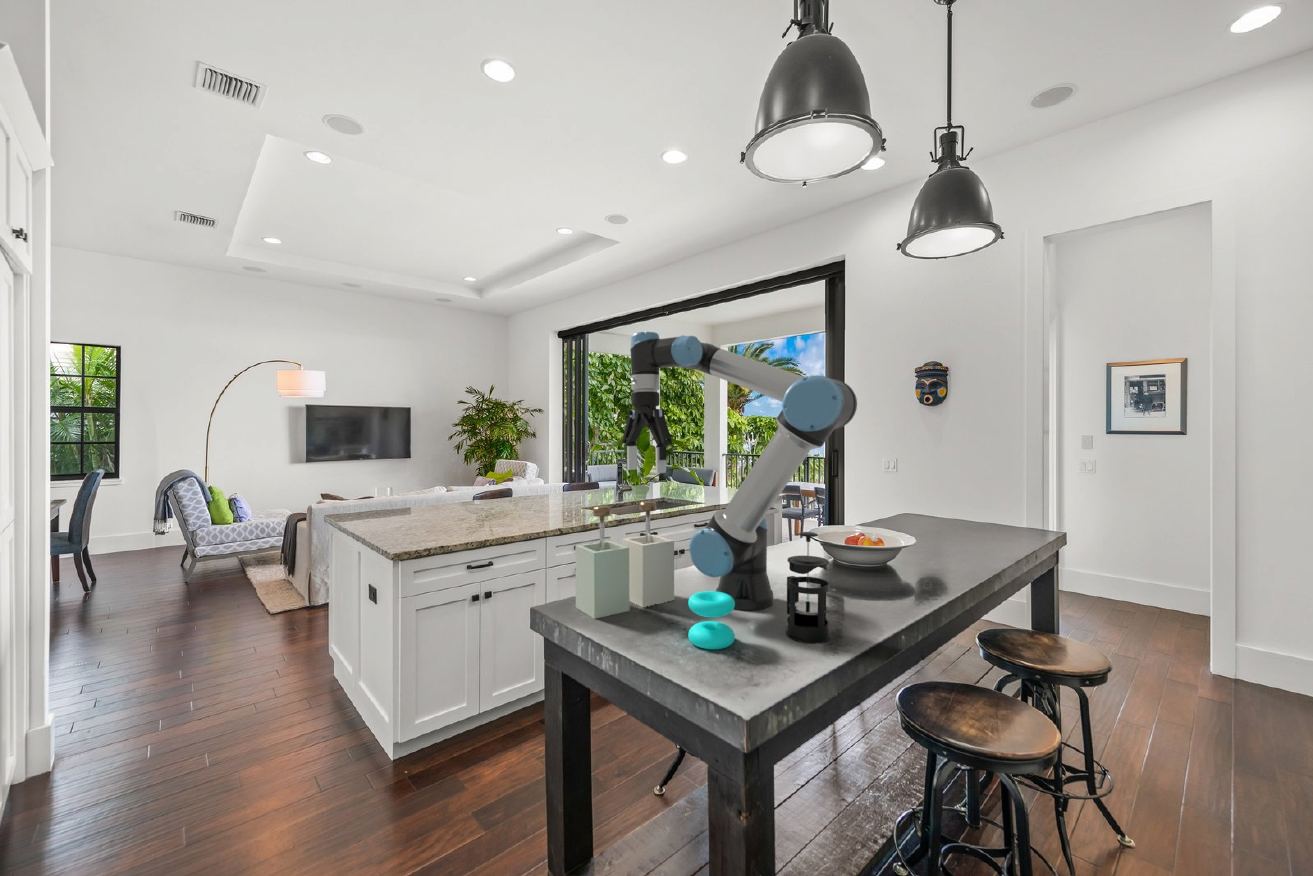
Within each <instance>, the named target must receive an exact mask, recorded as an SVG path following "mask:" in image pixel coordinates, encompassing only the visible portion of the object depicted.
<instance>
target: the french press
mask: <svg viewBox="0 0 1313 876" xmlns="http://www.w3.org/2000/svg"><path fill="white" fill-rule="evenodd" d="M798 535H799V536H800V537H805V542H806V543H807V545H806V546H807V547H806V549H807V550H806V551H807V554H806V555H793V556H789V557H787V559H786V560H787V563H789V568H788V569H789V570H790V571H791V572H792V573H793V572H794V573H796V574H801V575H806V576H795V575H791V576H787V577H786V614H787V615H788V617H787V618H786V619H787V620H786V622H787V623H786V627H787V628H786V630H785V634H786V636H787V637H788V638H789V639H790V640H792V641H795V642H798V643H801V642H802V643H803V644H813V645H815V643H819V644H823V643H822V642H824V643H826V642H828V641H830V638H831V635H830V631H829V630H830V623H829V620H828V619H827V613H828V610H829V609H828V607H827V593H828V592H830V583H829V581H827V580H825V579H823V578H819V577H814V576H810V572H812V571H813V570H815V569H816V568H821V569H823V570H825V571H828V566H829V564H830V560H829V559H827V558H824V557H820V556H815V555H810V542H811V538H812V537H813V538H814V537H818V536H819V534H818V533H816V532H812V531H802V532H799V533H798ZM800 583H806V587H805V586H804V587H803V586H800ZM810 584H815V585H820V587H810ZM799 594H803V595H804V594H805V595H806V600H800V597H799ZM810 595H817V602H816V601H810V598H809V596H810ZM825 641H826V642H825ZM802 643H801V644H802Z"/></svg>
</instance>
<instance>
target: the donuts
mask: <svg viewBox="0 0 1313 876" xmlns="http://www.w3.org/2000/svg"><path fill="white" fill-rule="evenodd" d="M687 604H688V607H689V609H690V610H691V612H693V613H694V614H696V615H698V616H700V617H706V618H721V617H725V616H727V615H729V614H731V612H733V610H735V609H734V607H735V602H734V599H733V598H732V597H731V596H730V595H728V594H726V593H722V592H716V590H714V591H713V590H708V591H707V590H705V591H704V590H703V591H699V592H695V593H694V594H692V595H691V596H690V597H689V598H688V603H687ZM687 636H688V637H687V638H688V640H689V642H690V643H692V645H694V646H696V647H698V648H701V649H704V650H722V649H725V648H728V647H730V646H731V645H733V643H734V641H735V640H736V638H735V637H736V636H735V632H734V629H732V628H731V627H730V626H729V625H728V624H725V623H723V622H721V621H716V620H707V621H701V622H697V623H695V624H694V625H692V626H691V628H690V629H689V631H688V635H687Z"/></svg>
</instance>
